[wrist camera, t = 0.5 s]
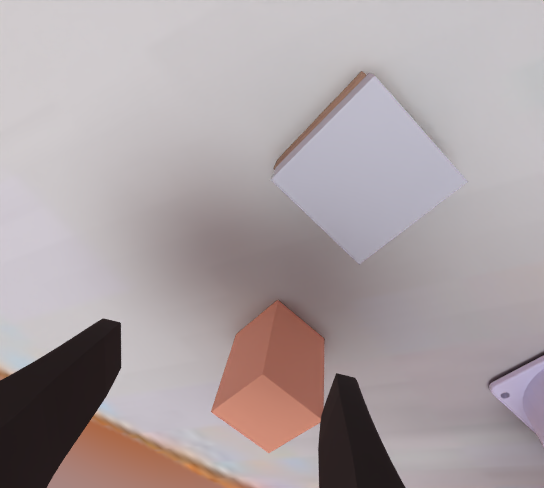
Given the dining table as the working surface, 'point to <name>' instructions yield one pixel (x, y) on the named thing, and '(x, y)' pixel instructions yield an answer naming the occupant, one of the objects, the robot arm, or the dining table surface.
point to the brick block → (273, 379)
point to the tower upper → (367, 171)
